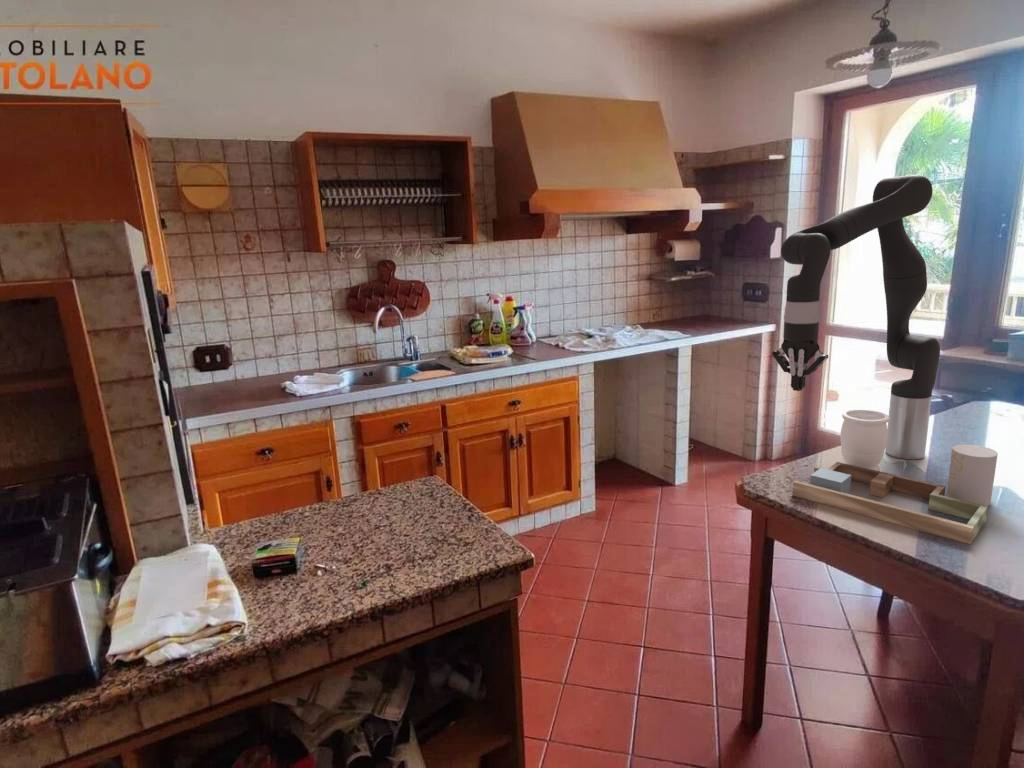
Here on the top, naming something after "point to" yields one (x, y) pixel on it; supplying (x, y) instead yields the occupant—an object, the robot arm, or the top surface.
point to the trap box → (901, 516)
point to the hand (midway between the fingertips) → (797, 390)
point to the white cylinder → (972, 473)
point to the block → (831, 480)
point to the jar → (864, 438)
